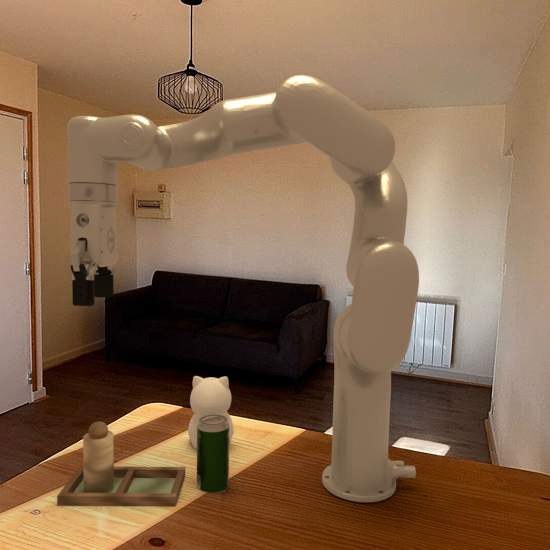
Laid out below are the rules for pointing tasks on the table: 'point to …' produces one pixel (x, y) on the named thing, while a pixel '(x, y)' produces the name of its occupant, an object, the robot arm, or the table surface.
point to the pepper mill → (98, 459)
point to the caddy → (138, 494)
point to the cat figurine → (209, 402)
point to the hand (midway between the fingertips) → (94, 301)
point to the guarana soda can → (213, 453)
